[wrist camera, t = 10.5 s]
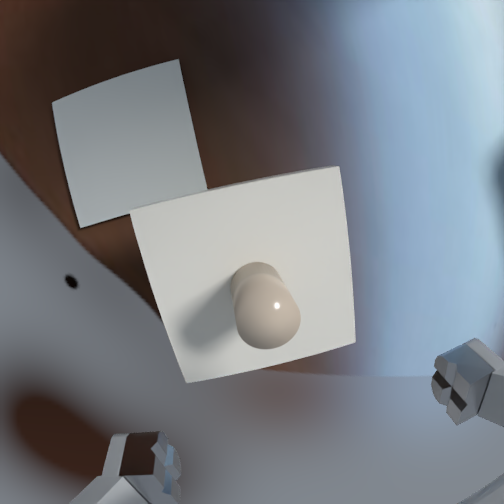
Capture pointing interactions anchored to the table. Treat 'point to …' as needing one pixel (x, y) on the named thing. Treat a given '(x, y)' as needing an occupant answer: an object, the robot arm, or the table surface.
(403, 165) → the table surface
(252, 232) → the lid
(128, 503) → the robot arm
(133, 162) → the mat
